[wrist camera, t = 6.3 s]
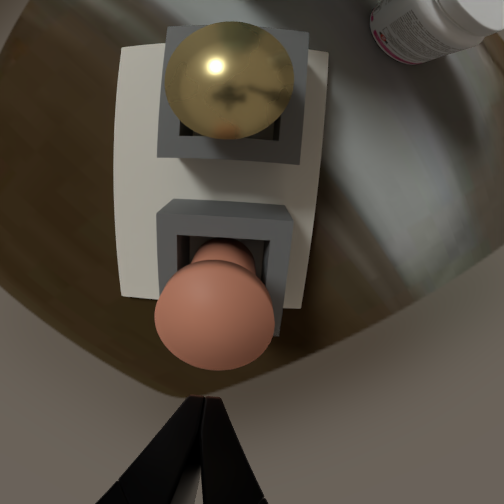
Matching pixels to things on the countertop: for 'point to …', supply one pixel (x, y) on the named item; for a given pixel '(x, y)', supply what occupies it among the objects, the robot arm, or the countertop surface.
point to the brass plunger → (229, 80)
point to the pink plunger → (216, 308)
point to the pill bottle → (433, 26)
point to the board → (215, 177)
